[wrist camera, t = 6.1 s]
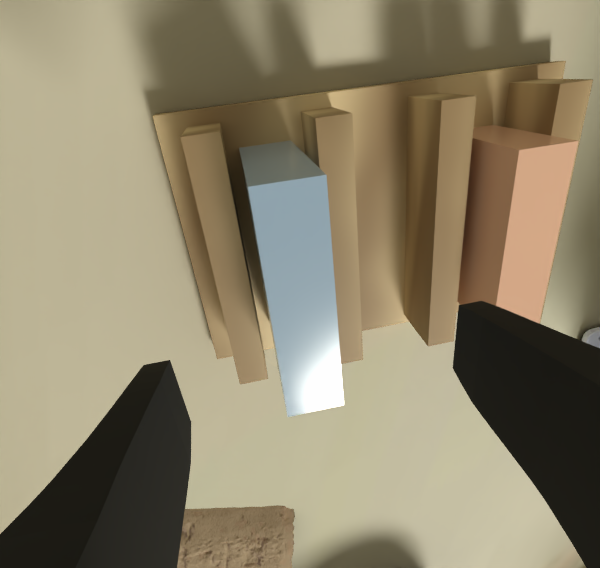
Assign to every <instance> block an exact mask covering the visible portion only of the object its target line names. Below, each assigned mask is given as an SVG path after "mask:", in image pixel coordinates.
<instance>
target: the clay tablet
mask: <svg viewBox="0 0 600 568" xmlns="http://www.w3.org/2000/svg"><path fill="white" fill-rule="evenodd" d="M294 517H295V515H294V509H289V508H286V507H285V506H266V507H244V508H211V509H185V511H184V519H183V526H182V534H181V542H180V549H179V557H178V564H177V568H292V561H291V558H292V555H293V545H294V541H293V538H294V534H293V530H294V526H293V524H292V523H293V521H294Z"/></svg>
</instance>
